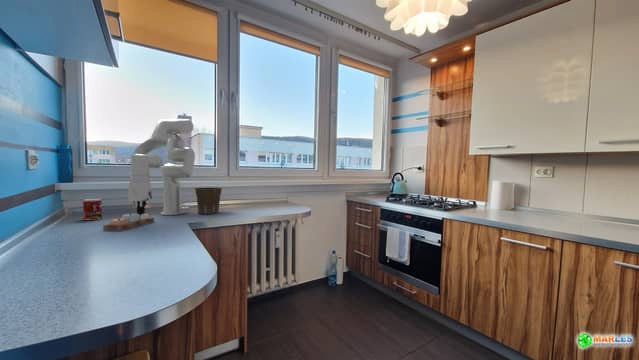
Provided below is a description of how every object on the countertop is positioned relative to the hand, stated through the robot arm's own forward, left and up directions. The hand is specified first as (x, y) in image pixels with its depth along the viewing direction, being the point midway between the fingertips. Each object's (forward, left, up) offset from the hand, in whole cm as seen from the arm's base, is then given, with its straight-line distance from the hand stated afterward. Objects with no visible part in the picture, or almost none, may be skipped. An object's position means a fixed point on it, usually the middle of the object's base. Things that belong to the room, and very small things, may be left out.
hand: (140, 214), depth 133 cm
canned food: (+23, -25, -5) cm, 34 cm away
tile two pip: (+4, +5, -3) cm, 7 cm away
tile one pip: (0, 0, -4) cm, 4 cm away
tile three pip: (+8, +10, -4) cm, 13 cm away
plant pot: (-35, -17, -5) cm, 40 cm away
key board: (+4, +5, -5) cm, 8 cm away
